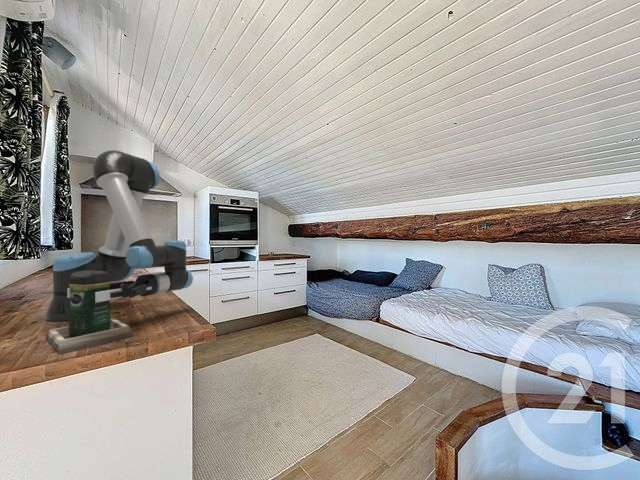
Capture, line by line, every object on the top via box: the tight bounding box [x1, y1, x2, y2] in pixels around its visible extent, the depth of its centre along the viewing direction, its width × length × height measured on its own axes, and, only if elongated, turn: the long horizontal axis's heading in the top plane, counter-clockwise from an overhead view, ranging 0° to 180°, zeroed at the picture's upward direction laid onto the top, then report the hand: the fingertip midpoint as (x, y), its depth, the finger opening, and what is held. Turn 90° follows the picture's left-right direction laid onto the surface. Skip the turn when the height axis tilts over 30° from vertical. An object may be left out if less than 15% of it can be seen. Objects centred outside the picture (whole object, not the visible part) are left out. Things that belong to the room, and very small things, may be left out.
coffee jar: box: [68, 270, 112, 337], centre depth 80 cm, size 10×8×19 cm
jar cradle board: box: [45, 317, 134, 355], centre depth 80 cm, size 18×16×3 cm
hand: (81, 295), depth 78 cm, fingers open, 13 cm apart
